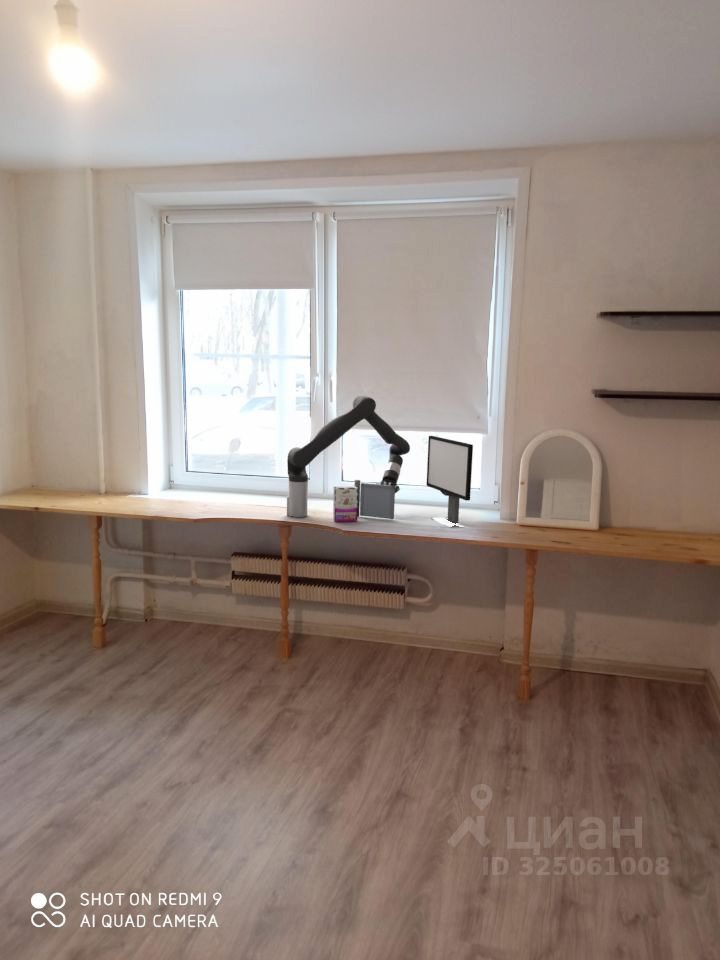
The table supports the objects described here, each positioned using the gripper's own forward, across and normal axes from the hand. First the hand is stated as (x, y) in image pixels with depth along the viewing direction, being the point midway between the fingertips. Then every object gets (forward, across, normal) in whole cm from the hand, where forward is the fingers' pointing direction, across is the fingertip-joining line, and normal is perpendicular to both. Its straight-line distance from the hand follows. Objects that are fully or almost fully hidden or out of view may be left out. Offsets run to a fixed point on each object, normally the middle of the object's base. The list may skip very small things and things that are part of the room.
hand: (383, 501), depth 342 cm
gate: (+9, -1, +1) cm, 9 cm away
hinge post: (+9, -12, +2) cm, 15 cm away
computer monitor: (+4, +32, +8) cm, 33 cm away
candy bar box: (+18, -13, -6) cm, 23 cm away
